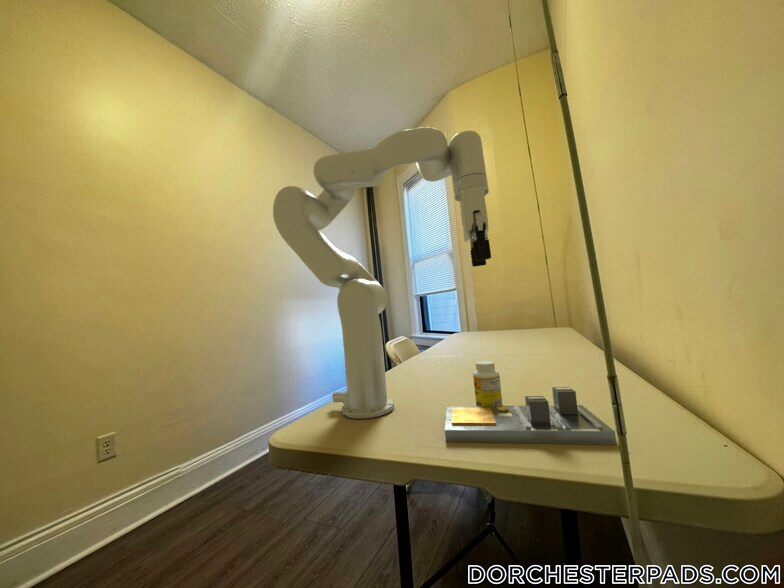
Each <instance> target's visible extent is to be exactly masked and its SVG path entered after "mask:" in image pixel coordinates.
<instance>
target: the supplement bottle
mask: <svg viewBox="0 0 784 588" xmlns="http://www.w3.org/2000/svg"><path fill="white" fill-rule="evenodd" d="M475 368H476V370H474V371H473V373H472V377H473V388H474V397H475V406H499V405H503V397H502V387H501V379H500V378H501V377H500V372H499V371H498V370H497V369H496V366H495V362H494V361H491V360H479V361H476V362H475Z"/></svg>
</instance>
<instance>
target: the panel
mask: <svg viewBox="0 0 784 588" xmlns="http://www.w3.org/2000/svg"><path fill="white" fill-rule="evenodd" d="M524 398H525V399H524V400H525V401H524V402H525V405H503V404H502V405H499V406H476V405H456V406H455V405H451V406H450V405H447V406H446V411H445V421H444V423H445V425H444V435H445V443H487V444H488V443H495V444H501V443H502V444H549V445H550V444H556V445H559V444H561V445H611V446H612V445H614V446H615V445H617V438H616V431H615V430H614V429H612V428H611V427H610V426H609V425H607V424H606V423H605V422H604V421H602V420H601V419H600V418H599V417H597V416H596V415H595V414H593V413H592V412H591V411H590V410H589V409H588V408H586V407H585V406H584V405H582V404H577V408H578V414H559V413H558V412H557V411H556V410H555V408H554V404H553V405H549V401H548V400H547V399H546V397H545V396H543V395H540V396H539V395H533V396H532V395H529V396H528V395H527V396H526V395H525V396H524Z"/></svg>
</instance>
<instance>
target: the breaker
mask: <svg viewBox="0 0 784 588" xmlns="http://www.w3.org/2000/svg"><path fill="white" fill-rule="evenodd" d="M551 391H552V397H553V398H552V401H553V405H554V408H555V410H556V411H557V412H558V413H559V414H578V408H577V405H578V401H577V400H578V399H577V392H576V390H574V389H573V388H571V387H570V386H554V387H552V390H551Z"/></svg>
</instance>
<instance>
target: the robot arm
mask: <svg viewBox="0 0 784 588" xmlns="http://www.w3.org/2000/svg"><path fill="white" fill-rule="evenodd" d="M411 164H416V166H417V168H418V171H419V172H418V173H419V175H420V176H421V179H422V178H423V180H425V181H426V182H432V183H433V182H437V181H441V180H444V179H446V178H449V177H451V180H452V187H453V188H452V189H453V194H454V199H455V200H454V201H457V202H459V206H460V207H459V209H460V216H461V217H460V218H461V224H462V225H461V226H462V233H463V241H464V242H465V243H468V241H469V244H470V257H471V265H472V267H482V266H486V265H487V260H490V259H491V258H492V252H491V245H490V239H488V238H489V235H488V232H489V219H488V217H489V216H488V212H487V204H486V199H485V197H486V196H487V195H488V194H489V191H490V190H489V184H488V183H489V182H488V176H487V171H486V163H485V156H484V149H483V142H482V138H481V136H480V134H479V133H478V132H477V131H475V130H464V131H460V132H458V133H456V134H455V135H454V136H452V137H451V138H450V140H449V142H448V139H447V137H446V135H445V134H444V132H443V131H441V130H440V129H438V128H435V127H432V126H431V127H429V126H426V127H416V128H409V129H403V130H399V131H397V132H396V131H395V133H393V134H391V135H389V136H387V137H385V138H384V139H383V140H381V141H380V142H378V144H376V145H375V146H374V147H372V148H367V149H363V150H357V151H350V152H341V153H335V154H330V155H324V156H321V157H320V158H318V159H317V160H316V162H315V163H314V166H313V176H314V178H315V181H316V183H317V184H318V185H319V186H320V187H321V189H322V191H321V193H320V194H319V195H318V196H315V195H314V194H312V193H310V192H309V191H308V190H306V189H304V188H301V187H299V186H297V185H296V186H295V185H289V186H288V185H287V186H285V187H283V188H281V189H280V190H279V191H278V192H277V194H276V195H275V198H274V201H273V205H272V214H273V222H274V224H275V227H276V229H277V231H278V233H279V235H280V236H281V238H282V239H283V240H284V242H285V243H286V244H287V245H288V246H289V248H290V249H291V250H292V251H293V252H294V253H295V254H296V255H297V256H298V257H299V259H300V260H301V261H302V263H304V265H305V266H306V267H307V268H308V270H309V271H311V272H312V274H313V275H314V277H316V278H317V280H318V281H319V282H320V283H321V284H322V285H325V286H327V287H332V288H336V289H338V290H339V291H338V294H337V299H336V303H337V310H338V311H337V312H338V315H339V319H340V325H341V333H342V343H343V344H342V345H343V354H344V355H343V356H344V368H345V371H344V372H345V381H346V382H345V383H346V390H345V391H344V392H341V391H339V392H338V391H337V392H333V393H332V395H331V398H332V401H333V403H342V404H343V405H342V406H341V414H342V415H343V416H344V415H345V416H344V417H346V416H347V418H350V419H360V420H361V419H372V418H376V417H377V418H378V417H380V416H384V415H386V414H388V413H390V412H391V411H393V410H394V408H395V403H394V400H393V399H391V398H389V397H388V391H387V381H386V380H387V379H386V367H385V355H384V354H385V353H384V344H383V342H384V341H383V333H382V324H381V320H380V316H379V314H381V313H382V312H383V311H384V310H385V309H386V307H387V304H388V295H387V292H386V290H385V288H384V287H383V286H382V284H380V283H379V281H378V280H377V279H376V278H375V277H374V276H373V275H372V274H371V273H370V272H369V271H368V270H367V268H365V267H364V265H363V264H362V263H360V262H359V261H358V260H357V258H355V257H353V256H352V255H349V254H348V253H346V252H343V251H341V250H339V249H338V248H337V247H336V246H334V244H332V242H330V241H329V240H328V238H327V237H326V236H325V235H324V233H322V232H321V230H324V229H325V228H327V227H328V226H329V225H330V224H331V223H332V222H333V221H334V220H335V219H336V218H337V216H339V215H340V214H341V213H342V211H343V210H345V208H346V207H347V206H348V205H349V203H350V202H351V201H352V200H353V198H354V197H355V196H356V193H357V191H358V189H360V188H372V187H377V186H379V185H380V184H381V183H382V181H383V179H384V177H385V175H386V174H387V173H388V172H389V171H390V170H392V169H394V168H396V167H400V166H403V165H404V166H405V165H411Z"/></svg>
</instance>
